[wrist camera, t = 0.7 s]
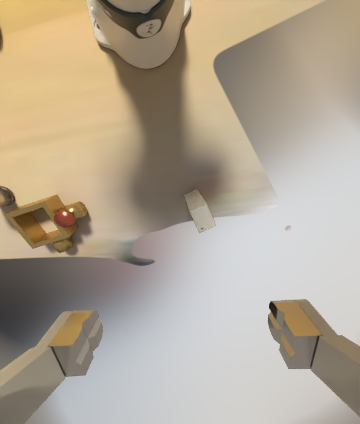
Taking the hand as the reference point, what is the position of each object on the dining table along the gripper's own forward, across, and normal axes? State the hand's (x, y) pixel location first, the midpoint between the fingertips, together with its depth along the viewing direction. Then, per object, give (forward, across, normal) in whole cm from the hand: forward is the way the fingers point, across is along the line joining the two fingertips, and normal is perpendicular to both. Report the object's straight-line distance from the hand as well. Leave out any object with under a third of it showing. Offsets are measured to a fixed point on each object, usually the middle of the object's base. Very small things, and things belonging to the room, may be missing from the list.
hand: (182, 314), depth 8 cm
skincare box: (+41, -3, +5) cm, 41 cm away
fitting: (+37, +34, +8) cm, 51 cm away
